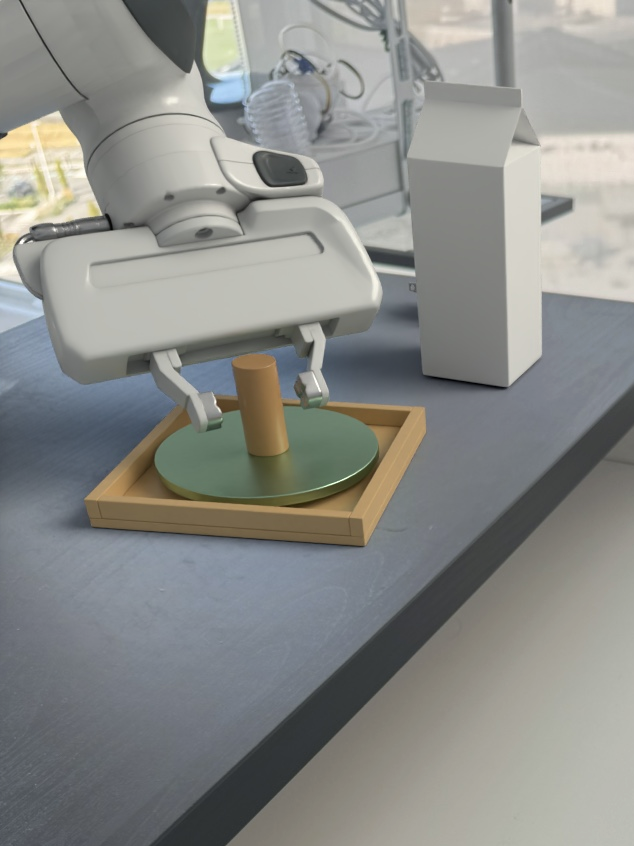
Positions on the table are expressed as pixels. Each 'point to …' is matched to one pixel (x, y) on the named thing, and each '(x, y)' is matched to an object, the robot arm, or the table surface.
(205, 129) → the robot arm
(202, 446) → the lid
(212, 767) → the table surface
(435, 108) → the milk carton
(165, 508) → the tray
